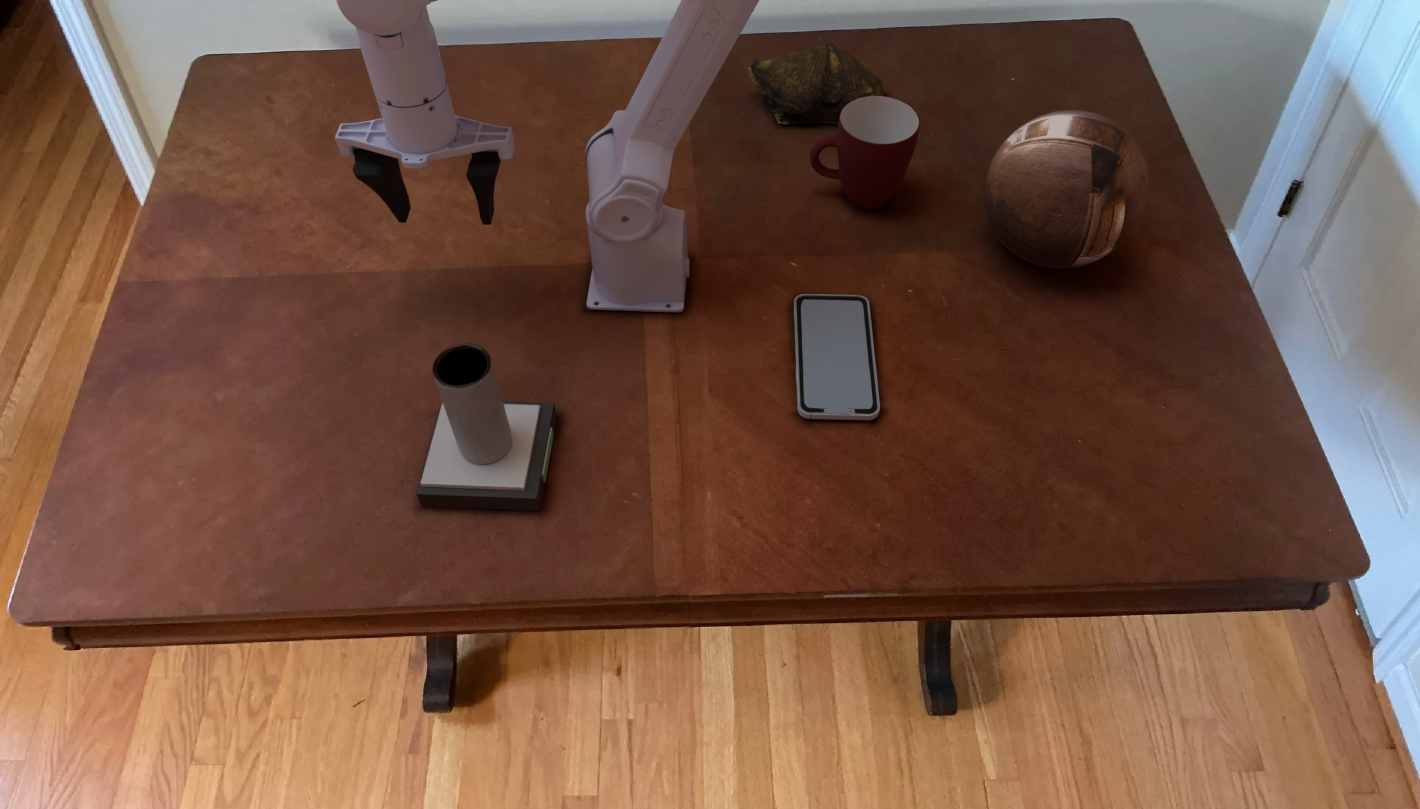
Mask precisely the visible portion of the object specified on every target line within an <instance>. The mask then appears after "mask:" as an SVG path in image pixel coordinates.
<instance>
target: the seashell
mask: <svg viewBox="0 0 1420 809" xmlns="http://www.w3.org/2000/svg"><path fill="white" fill-rule="evenodd" d="M746 69H747V71H748V75H749V76H750V80H751V82H752V84H753V85H754V86H755V87H756V88H757V90H758V91H759V92H760V94H759V95H760V97H762V96H763V97H764V98H765V100H766V102H767V105H768V108H769V110H770V112H771V114H772V115H773V117H774V118H775V119H776V121H777V123H778V124H779V125H787V126H788V125H792V124H794V125H797V124H798V125H799V124H835V125H838V123H839V116H840V113H841V110H842V109H843V108H844V107H845V106H846V105H847V104H848V103H849V102H851V101H853V100H855V99H858V98H862V97H867V96H885V95H884V94H885V93H884V90H883V83H882V80H881V78H879V77H878V76H877V75H875V74H874V73H872V72H871V70H870V69H869V68H867V67H866V66H865V65H864V64H863V63H862V62H860V61H859V60H858V59H857V58H856V57H854V56H853V55H852V54H851V53H850V52H848V51H846V50H844V49H843V48H841V47H839V46H837V45H835V44H833V43H830V42H824V43H820V44H817V45H814V46H812V47H809V48H807V49H803V50H800V51H799V50H798V51H794V52H790V53H783V54H777V55H773V56H767V57H756V58H755V59H753V63H752V64H751V65H750V66H748V67H747V68H746Z"/></svg>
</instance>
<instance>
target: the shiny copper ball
mask: <svg viewBox="0 0 1420 809" xmlns="http://www.w3.org/2000/svg"><path fill="white" fill-rule="evenodd" d="M1149 176H1150V175H1149V169H1148V166H1147V162H1146V159H1145V156H1144V153H1143V152H1142V149H1141V147H1140V146H1139V144H1138V143H1137V141H1136V140H1135V138H1134V137H1133V136H1132V135H1131V133H1129V132H1128V131H1127V130H1126V128H1124V127H1123V126H1122V125H1120V123H1117V122H1116V121H1115V120H1113V119H1111V118H1110V117H1107V116H1105V115H1102V114H1100V113H1097V112H1093V111H1090V110H1089V111H1088V110H1084V109H1063V110H1062V109H1061V110H1056V111H1055V110H1054V111H1051V112H1048V113H1045V114H1042V115H1038V116H1037V117H1035V118H1032V119H1030V120H1028V121H1027V122H1025V123H1023V124H1022V125H1021V126H1019V127H1018V128H1017V129H1015V130H1014V131H1013V132H1012V133H1011V134H1010V135H1009V136H1007V137H1006V139H1005V140H1004V141H1003V142H1002V143H1001V145H1000V146H999V148H998V149H997V151H996V152H995V154H994V156H993V157H992V160H991V162H990V164H989V167H988V169H987V173H986V176H985V182H984V188H983V189H984V190H983V193H984V194H983V198H984V201H983V202H984V208H985V212H986V213H985V214H986V216H987V220H988V222H989V224H990V227H991V229H992V231H993V233H994V234H995V236H996V237H997V238H998V240H999V241H1000V242H1001V243H1002V244H1003V245H1004V247H1006V249H1007V250H1008V251H1009V252H1011V253H1013V254H1014V255H1015V256H1017V257H1018V258H1020V259H1022V260H1024V261H1025V262H1028V263H1030V264H1033V265H1035V266H1038V267H1039V266H1040V267H1043V268H1048V269H1073V268H1078V267H1084V266H1087V265H1089V264H1092V263H1095V262H1097V261H1099V260H1102V259H1103V258H1106V257H1107V256H1108V255H1110V254H1111V253H1113V252H1114V251H1116V250H1117V249H1118V248H1119V247H1120V246H1122V244H1124V243H1125V242H1126V241H1127V239H1129V237H1130V236H1131V235H1132V233H1133V232H1134V231H1135V229H1136V228H1137V226H1138V224H1139V223H1140V221H1141V219H1142V216H1143V214H1144V213H1145V210H1146V206H1147V203H1148V198H1149V190H1150V177H1149Z"/></svg>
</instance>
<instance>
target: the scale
mask: <svg viewBox="0 0 1420 809" xmlns="http://www.w3.org/2000/svg"><path fill="white" fill-rule="evenodd" d="M503 404H504V407H505V411H506V415H507V418H508V422H509V426H510V430H511V434H512V445H511V448H510V450H509V451H508V453H507V454H506V455H505V456H504V457H503V458H501V459H500V460H498V461H496V462H493V463H490V464H483V465H482V464H474V463H471V462H469V461H467V460H466V459H465V458H464V457H463V456H462V455H461V453H460V451H459V448H458V446H457V443H456V440H455V437H454V434H453V431H452V428H451V425H450V423H449V420H448V417H447V414H446V411H445V408H444V405H443V402H442V401H440V406H439V410H438V413H437V416H436V420H435V425H434V428H433V432H432V435H431V438H430V443H429V445H428V449H427V454H426V457H425V461H424V465H423V468H422V472H421V475H420V479H419V482H418V486H417V490H416V496H417V499H418V501H419V503H420V506H421V507H424V508H447V509H474V510H497V511H498V510H501V511H522V512H523V511H527V512H540V511H541V507H542V503H543V502H542V501H543V496H544V491H545V486H546V480H547V475H548V469H549V464H550V459H551V458H550V457H551V452H552V447H553V442H554V436H555V429H556V425H557V418H558V414H557V409H556V406H555V403H554V402H539V401H538V402H537V401H535V402H534V401H508V400H507V401H506V400H505V401H504V400H503Z"/></svg>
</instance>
